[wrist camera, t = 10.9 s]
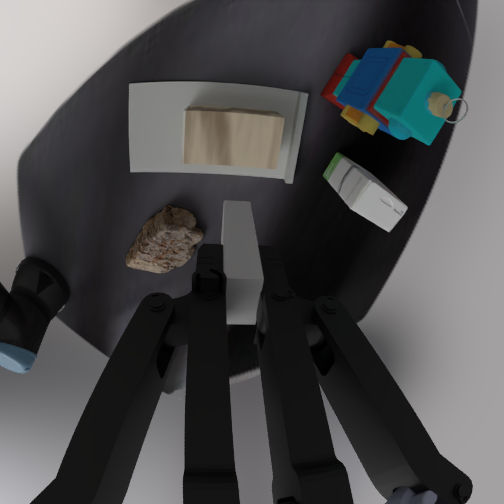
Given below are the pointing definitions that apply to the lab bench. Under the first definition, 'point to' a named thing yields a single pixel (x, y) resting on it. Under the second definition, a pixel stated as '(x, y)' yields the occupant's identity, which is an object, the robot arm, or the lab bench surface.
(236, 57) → the lab bench surface
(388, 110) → the toy robot
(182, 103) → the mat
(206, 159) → the block
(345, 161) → the ink box
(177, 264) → the rock
